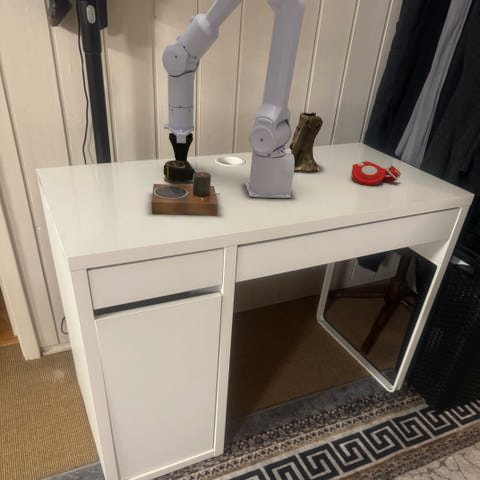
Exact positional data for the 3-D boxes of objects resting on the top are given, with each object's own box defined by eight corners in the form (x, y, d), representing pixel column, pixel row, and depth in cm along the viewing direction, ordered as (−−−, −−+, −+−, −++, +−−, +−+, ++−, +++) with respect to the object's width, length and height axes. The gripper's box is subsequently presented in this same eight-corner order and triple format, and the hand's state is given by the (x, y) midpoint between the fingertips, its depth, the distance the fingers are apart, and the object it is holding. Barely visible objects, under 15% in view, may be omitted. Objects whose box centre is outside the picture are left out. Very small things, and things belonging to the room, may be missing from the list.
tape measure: (196, 184, 107) (196, 168, 105) (166, 185, 105) (166, 168, 103) (189, 174, 113) (189, 158, 110) (161, 175, 111) (161, 159, 108)
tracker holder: (364, 183, 113) (343, 161, 119) (361, 198, 117) (341, 175, 122) (407, 170, 115) (385, 148, 121) (402, 184, 119) (381, 163, 125)
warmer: (217, 196, 102) (218, 185, 100) (221, 215, 94) (222, 202, 92) (153, 195, 100) (153, 182, 99) (152, 213, 92) (151, 200, 91)
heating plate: (187, 187, 98) (187, 185, 98) (188, 199, 93) (188, 198, 93) (154, 186, 98) (154, 184, 97) (152, 198, 92) (152, 197, 92)
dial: (192, 190, 97) (192, 169, 95) (209, 190, 98) (210, 170, 95) (193, 196, 94) (193, 175, 92) (210, 197, 95) (211, 176, 92)
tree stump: (295, 158, 129) (302, 106, 121) (325, 167, 125) (335, 114, 117) (275, 166, 123) (282, 112, 115) (307, 176, 118) (316, 120, 110)
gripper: (163, 97, 111) (164, 155, 118) (162, 111, 99) (163, 174, 107) (193, 99, 111) (192, 156, 119) (195, 113, 100) (194, 175, 108)
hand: (180, 165), depth 113 cm, fingers closed
